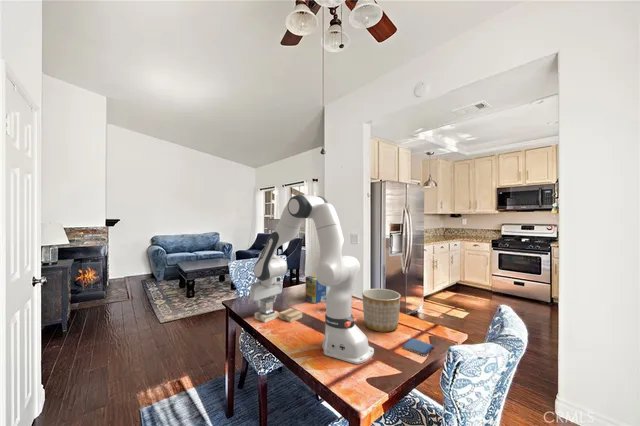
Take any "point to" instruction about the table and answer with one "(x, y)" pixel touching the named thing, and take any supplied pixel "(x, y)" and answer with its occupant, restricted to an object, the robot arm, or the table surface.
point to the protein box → (315, 290)
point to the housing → (267, 306)
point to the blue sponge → (418, 346)
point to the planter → (381, 309)
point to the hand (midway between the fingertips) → (266, 304)
